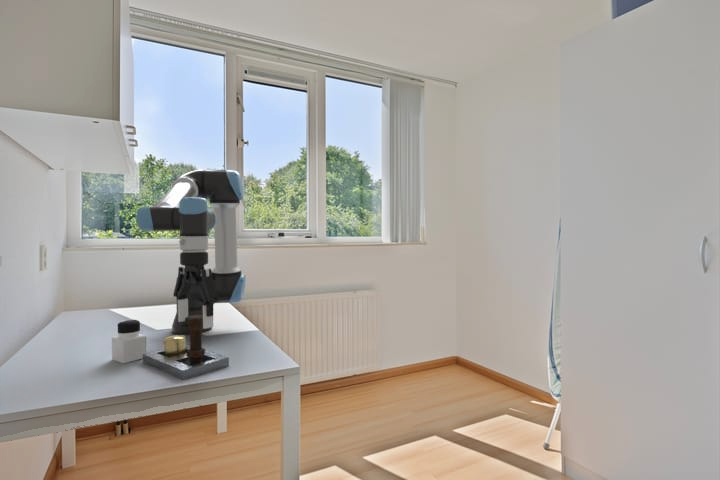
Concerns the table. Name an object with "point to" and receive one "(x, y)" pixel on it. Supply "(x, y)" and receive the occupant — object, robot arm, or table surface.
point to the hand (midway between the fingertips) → (195, 324)
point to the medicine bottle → (128, 342)
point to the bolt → (195, 339)
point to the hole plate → (183, 359)
